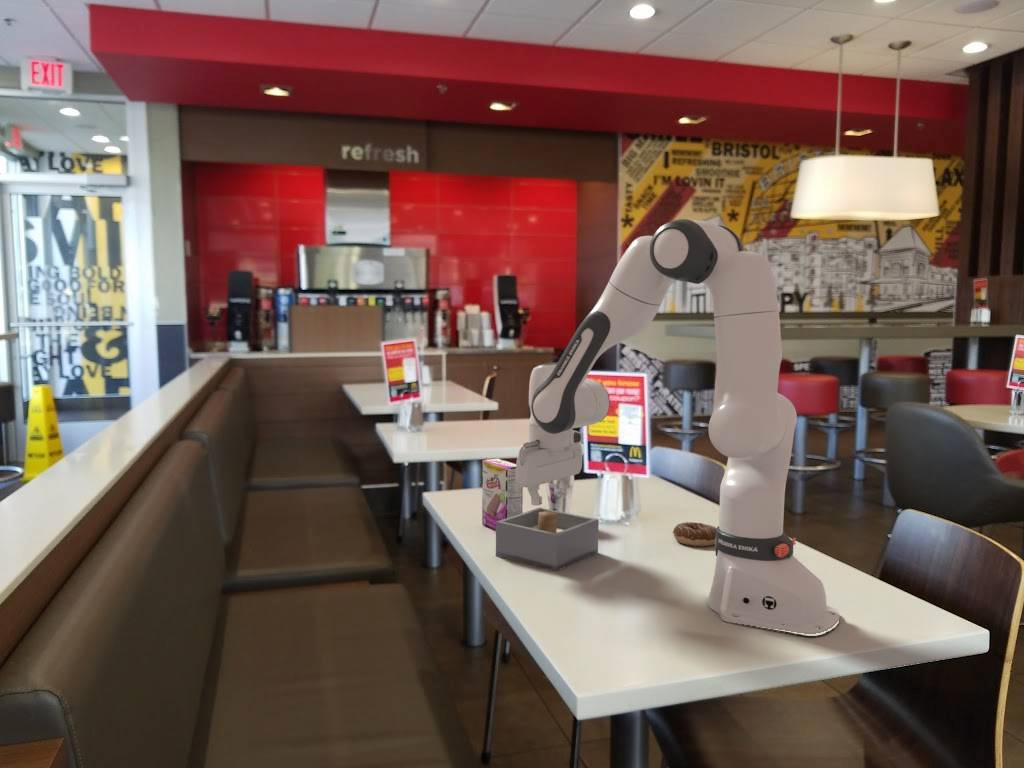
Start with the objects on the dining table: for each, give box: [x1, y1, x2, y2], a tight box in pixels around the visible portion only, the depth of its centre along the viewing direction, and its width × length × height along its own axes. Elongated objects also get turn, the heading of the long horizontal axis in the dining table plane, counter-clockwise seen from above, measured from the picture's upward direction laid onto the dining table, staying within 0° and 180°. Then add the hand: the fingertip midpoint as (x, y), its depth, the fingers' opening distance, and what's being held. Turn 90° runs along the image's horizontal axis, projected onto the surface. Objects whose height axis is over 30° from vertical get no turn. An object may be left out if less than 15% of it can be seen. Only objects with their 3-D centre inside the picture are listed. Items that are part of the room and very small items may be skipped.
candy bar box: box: [481, 458, 524, 531], centre depth 193 cm, size 11×5×16 cm, turn 34°
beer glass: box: [545, 475, 575, 514], centre depth 198 cm, size 7×7×15 cm
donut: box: [672, 521, 717, 547], centre depth 185 cm, size 11×11×4 cm
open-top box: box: [495, 507, 600, 572], centre depth 174 cm, size 16×16×8 cm
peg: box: [538, 511, 557, 533], centre depth 174 cm, size 4×4×8 cm
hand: (549, 500), depth 173 cm, fingers open, 8 cm apart
